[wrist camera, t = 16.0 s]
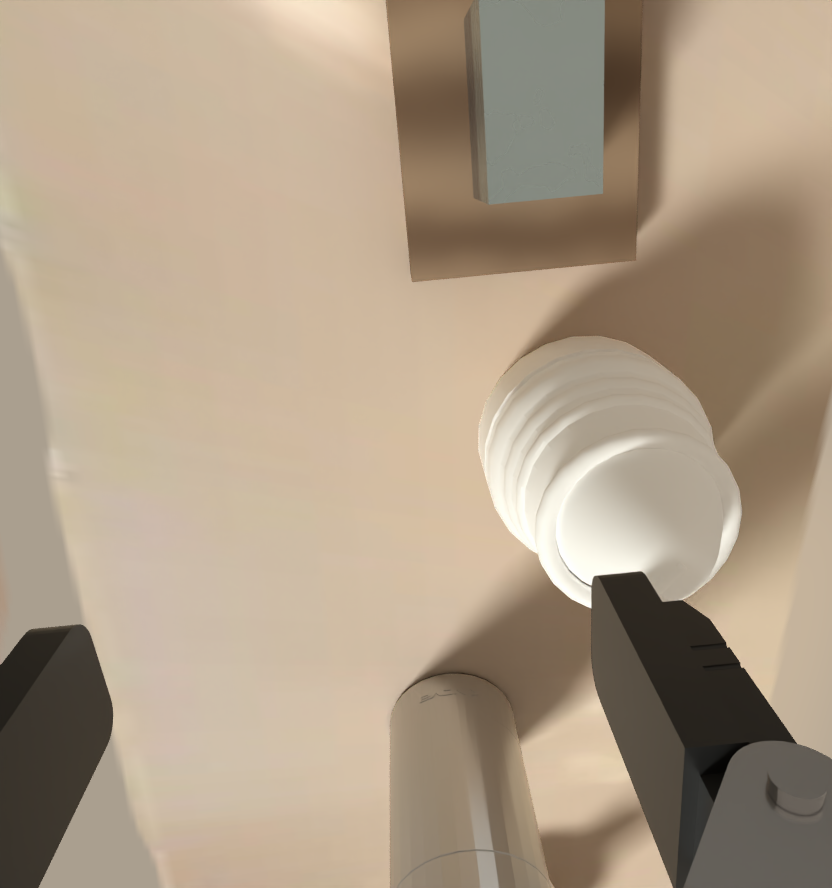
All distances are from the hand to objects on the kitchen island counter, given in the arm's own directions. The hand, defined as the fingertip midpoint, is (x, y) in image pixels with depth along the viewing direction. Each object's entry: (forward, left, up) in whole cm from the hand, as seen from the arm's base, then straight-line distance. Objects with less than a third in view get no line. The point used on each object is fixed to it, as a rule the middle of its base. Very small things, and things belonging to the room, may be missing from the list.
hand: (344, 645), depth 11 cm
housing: (+9, -8, -29) cm, 31 cm away
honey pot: (-10, -12, -32) cm, 36 cm away
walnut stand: (+9, -8, -32) cm, 34 cm away
